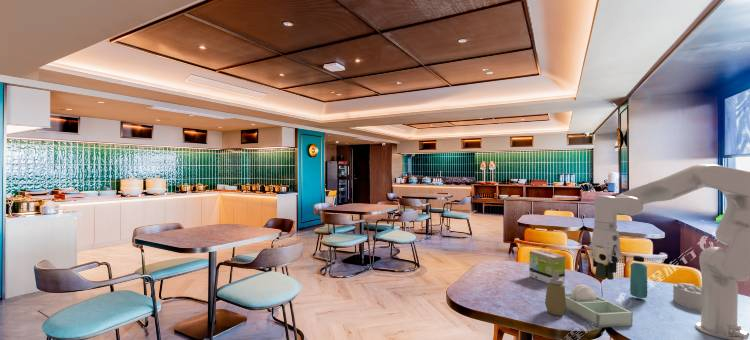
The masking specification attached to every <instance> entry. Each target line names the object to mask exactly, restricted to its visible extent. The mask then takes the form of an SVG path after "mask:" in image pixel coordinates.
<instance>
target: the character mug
mask: <svg viewBox="0 0 750 340" xmlns="http://www.w3.org/2000/svg"><path fill="white" fill-rule="evenodd" d="M592 252H593V253H594V256H592ZM612 254H614V251H613V252H611V255H612ZM588 258H590V259H593V258H594V260H595V261H596V262H598V263H597V266H596V267H595V273H594V276H595V278H598V279H601V280H606V279H607V280H608V281H609V280H614V273H609V272H608V262H610V261H609V259H608V256H607V255H606V252H605V248H600V247H597V246H594V250H590V249H589V252H588ZM612 259H613V257H612Z"/></svg>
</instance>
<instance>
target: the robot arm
mask: <svg viewBox="0 0 750 340" xmlns="http://www.w3.org/2000/svg"><path fill="white" fill-rule="evenodd" d="M702 188H709V189H715V190H719V191H720V192H721V193H722V194H723V196H724V197H725V199H726V203H727V204H726V208H725V211H724V214H723V215H722V218H721V220H720V221H719V224H718V226H717V228H716V230H715V239H716V240H717V241H719V243H721V244H723V245H725V246H726V247H727V246H728V248H723V247H720V246H710V247H707V248H704V249H703V250H702V251H701V252H700V253H699V257H698V259H699V261H698V263H699V266H700V267H699V268H700V274H701V286H702V297H701V310H700V321H697V322H696V323H695V328H696V330H698V331H701V332H702V333H704V334H705V335H709V336H712V337H716V338H720V339H724V340H748V339H749V337H750V333H749V332H747V331H744V330H742V326H741V325H740V324H738V307H739V306H738V302H739V300H738V299H739V298H738V297H739V296H738V295H739V285H738V282H744V281H748V280H749V279H750V171H747V170H742V169H737V168H733V167H728V166H723V165H719V164H714V163H713V164H711V163H710V164H695V165H692V166H689V167H686V168H684V169H682V170H679V171H677V172H675V173H672V174H669V175H667V176H666V177H662V178H660V179H657V180H655V181H652V182H648V183H646V184H642V185H640V186H637V187H634V188H631V189H628V190H626V191H624V192H622V193H619V194H616V196H613V195H603V194H601V195H597V196H595V198H594V217H593V218H594V221H593V222H594V223H593V226H594V227H593V230H592V236H591V243H590V244H589V245H588V248H589V251H590V250H594V246H597V247H600V248H605V252H606V255H607V256H608V259H609V261H610V262H608V272H609V273H613V274H614V273H615V274H616V273H617V268H618V267H617V266H618V265H617V264H618V263H619V261H621V259H622V258H623V256H624V255H623V254H622V252H621V239H620V234H619V231H618V230H617V228H618V226H617V225H618V223H617V219H618V217H617V216H618V215H624V216H625V215H626V216H630V217H631V216H636V215H639V214H641V213H642V211H643V210H644V205H646V204H649V203H650V204H651V203H655V202H665V201H671V200H675V199H677V198H680V197H682V196H685V195H687V194H690V193H693V192H695V191H697V190H700V189H702ZM613 251H614V254H612V255H611V252H613ZM592 256H594V253H593V252H592ZM612 257H613V259H612ZM597 263H598V262H596V261H595V260H594V258H592V266H593V267H594V268H596V266H597Z"/></svg>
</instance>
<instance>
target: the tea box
mask: <svg viewBox="0 0 750 340" xmlns="http://www.w3.org/2000/svg"><path fill="white" fill-rule="evenodd" d="M554 270H558V274H559V278H560V279H562V284H565V282H566V281H565V280H566V279H565V278H566V256H565V255H562V254H559V253H555V252H551V251H547V250H545V249H537V250H531V251H529V269H528V271H529V273H528V274H529V278H533V279H535V280H538V281H541V282H543V283H546V284H548V283H549V282H550V278H551V277H553V274H554Z"/></svg>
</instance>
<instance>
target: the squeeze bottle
mask: <svg viewBox="0 0 750 340" xmlns="http://www.w3.org/2000/svg"><path fill="white" fill-rule="evenodd" d="M565 293H566V288H565V285H564V283H562V279H560V278H559V274H558V270H554V274H553V277H551V278H550V282H549V283H546V292H545V299H544V301H545V302H544V304H545V307H546V311H547V313H548V314H551V315H553V316H560V317H561V316H563V315H564V313H565V312H566V310H567V309H566V296H565Z"/></svg>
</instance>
